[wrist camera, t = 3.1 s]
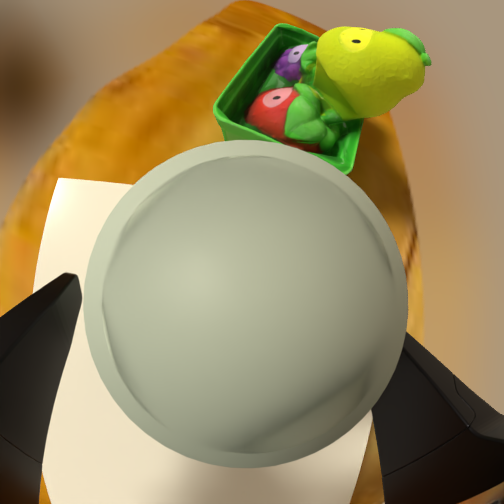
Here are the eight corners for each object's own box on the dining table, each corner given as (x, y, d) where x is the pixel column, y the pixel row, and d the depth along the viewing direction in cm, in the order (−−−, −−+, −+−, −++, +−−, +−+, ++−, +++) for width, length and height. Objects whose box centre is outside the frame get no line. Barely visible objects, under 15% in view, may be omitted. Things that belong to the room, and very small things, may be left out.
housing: (319, 505, 14) (339, 529, 11) (70, 488, 11) (55, 514, 7) (356, 242, 18) (387, 229, 15) (80, 201, 15) (58, 178, 12)
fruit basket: (262, 63, 20) (306, -46, 9) (356, 109, 21) (432, 23, 10) (200, 163, 17) (223, 7, 6) (326, 221, 18) (456, 135, 7)
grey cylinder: (206, 376, 14) (247, 512, 3) (139, 297, 14) (26, 272, 3) (282, 312, 15) (443, 312, 5) (219, 235, 15) (280, 97, 5)
